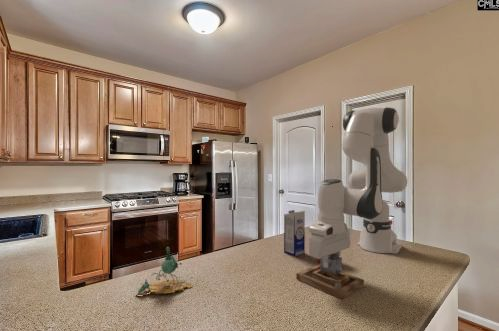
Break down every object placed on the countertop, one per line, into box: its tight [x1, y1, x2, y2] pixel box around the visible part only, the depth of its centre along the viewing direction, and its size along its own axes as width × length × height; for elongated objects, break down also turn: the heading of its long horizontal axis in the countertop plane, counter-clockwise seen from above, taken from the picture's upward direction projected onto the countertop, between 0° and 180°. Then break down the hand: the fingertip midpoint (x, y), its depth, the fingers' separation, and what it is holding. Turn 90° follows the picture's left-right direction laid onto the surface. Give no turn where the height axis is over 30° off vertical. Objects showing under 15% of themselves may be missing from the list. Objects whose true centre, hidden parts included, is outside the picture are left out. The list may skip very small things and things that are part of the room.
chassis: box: [295, 263, 365, 300], centre depth 86 cm, size 14×18×3 cm
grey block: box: [319, 254, 343, 275], centre depth 87 cm, size 4×6×6 cm, turn 39°
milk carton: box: [283, 209, 306, 258], centre depth 115 cm, size 7×7×20 cm
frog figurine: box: [135, 246, 194, 296], centre depth 81 cm, size 10×18×15 cm, turn 105°
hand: (331, 265), depth 86 cm, fingers closed on grey block, 4 cm apart
